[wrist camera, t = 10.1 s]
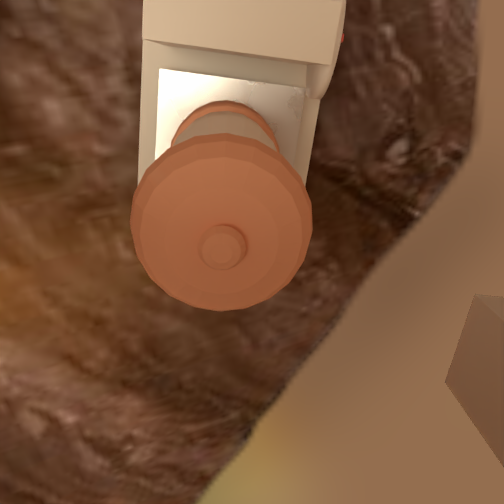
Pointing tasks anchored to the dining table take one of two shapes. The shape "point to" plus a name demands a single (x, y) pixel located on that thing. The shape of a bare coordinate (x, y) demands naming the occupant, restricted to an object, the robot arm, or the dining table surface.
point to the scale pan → (222, 88)
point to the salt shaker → (221, 212)
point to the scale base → (241, 53)
